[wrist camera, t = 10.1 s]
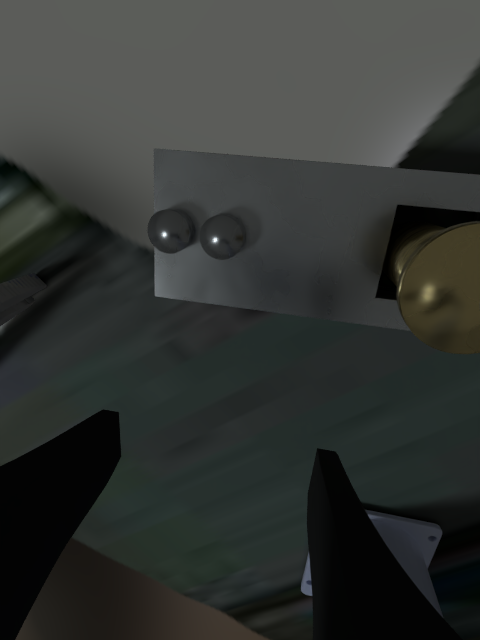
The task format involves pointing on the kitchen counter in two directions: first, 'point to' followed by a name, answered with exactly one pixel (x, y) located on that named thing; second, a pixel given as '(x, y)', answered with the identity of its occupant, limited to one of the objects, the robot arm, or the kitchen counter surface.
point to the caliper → (18, 295)
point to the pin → (438, 282)
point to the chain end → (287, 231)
